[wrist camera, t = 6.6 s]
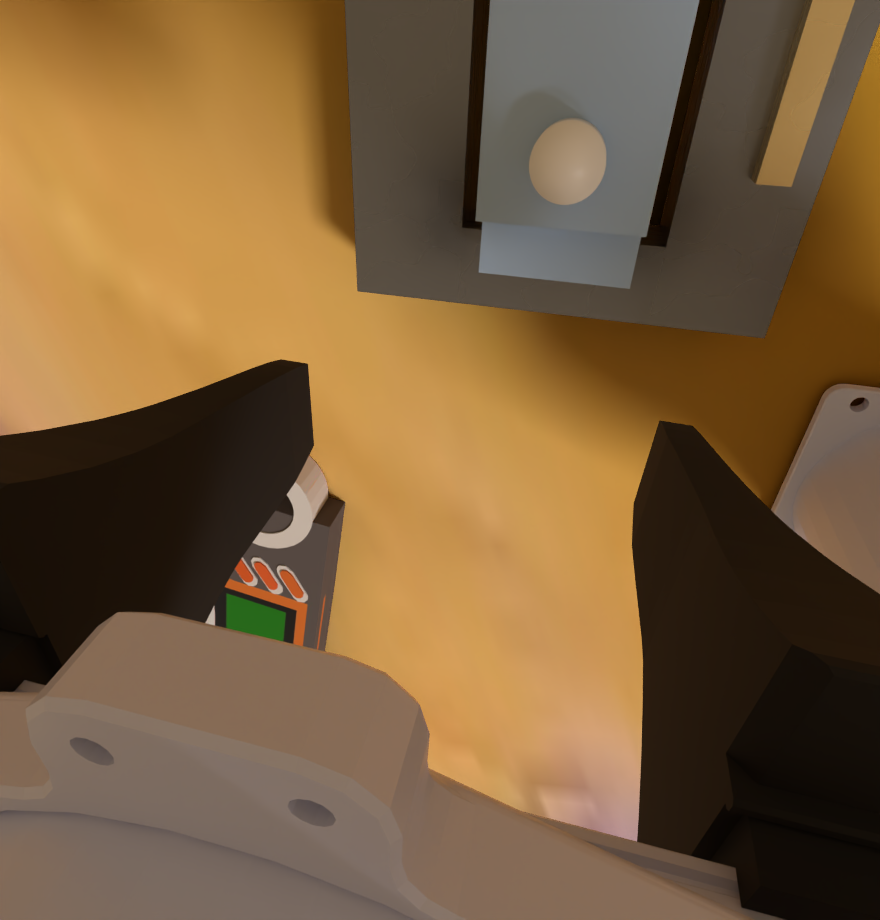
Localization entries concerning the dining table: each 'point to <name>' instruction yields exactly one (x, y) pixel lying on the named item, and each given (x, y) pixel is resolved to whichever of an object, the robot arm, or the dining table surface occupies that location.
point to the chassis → (692, 182)
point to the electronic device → (288, 569)
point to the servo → (576, 133)
